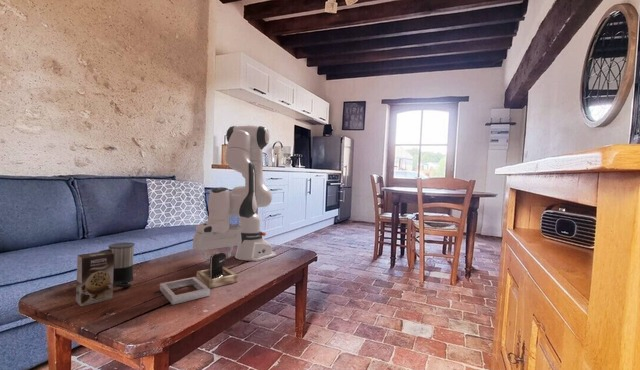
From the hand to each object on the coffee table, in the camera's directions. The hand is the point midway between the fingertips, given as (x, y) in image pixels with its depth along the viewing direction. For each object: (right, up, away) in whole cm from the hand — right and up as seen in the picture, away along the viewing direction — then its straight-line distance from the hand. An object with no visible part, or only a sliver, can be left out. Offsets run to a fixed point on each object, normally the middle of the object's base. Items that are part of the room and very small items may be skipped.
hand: (217, 258), depth 125 cm
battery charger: (0, -10, 0) cm, 10 cm away
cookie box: (-34, -9, -24) cm, 43 cm away
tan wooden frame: (0, -10, 0) cm, 10 cm away
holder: (-8, -10, -14) cm, 19 cm away
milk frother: (-36, -8, -8) cm, 38 cm away
